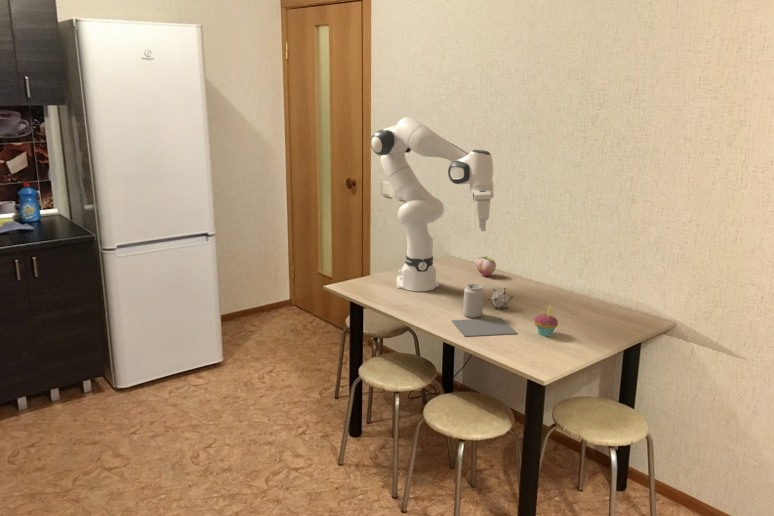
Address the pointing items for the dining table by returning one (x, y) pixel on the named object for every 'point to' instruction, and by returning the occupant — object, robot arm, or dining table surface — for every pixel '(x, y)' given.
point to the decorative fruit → (486, 266)
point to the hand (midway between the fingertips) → (482, 229)
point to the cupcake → (546, 323)
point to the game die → (500, 298)
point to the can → (473, 300)
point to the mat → (483, 327)
